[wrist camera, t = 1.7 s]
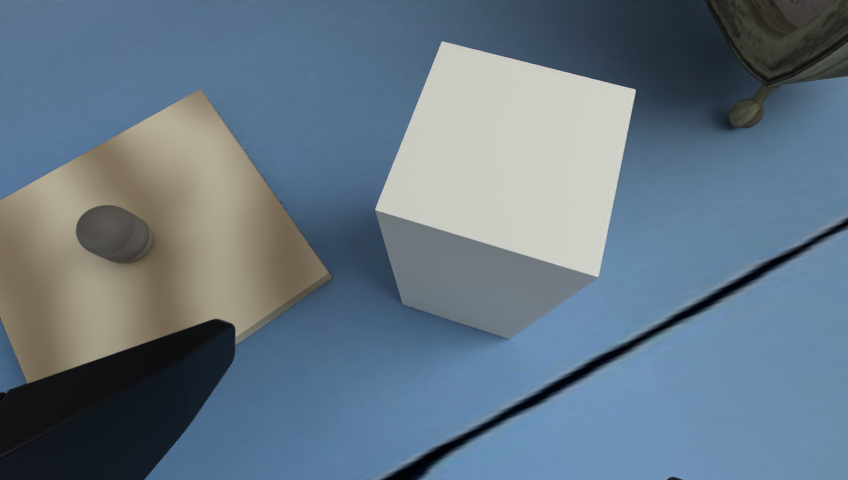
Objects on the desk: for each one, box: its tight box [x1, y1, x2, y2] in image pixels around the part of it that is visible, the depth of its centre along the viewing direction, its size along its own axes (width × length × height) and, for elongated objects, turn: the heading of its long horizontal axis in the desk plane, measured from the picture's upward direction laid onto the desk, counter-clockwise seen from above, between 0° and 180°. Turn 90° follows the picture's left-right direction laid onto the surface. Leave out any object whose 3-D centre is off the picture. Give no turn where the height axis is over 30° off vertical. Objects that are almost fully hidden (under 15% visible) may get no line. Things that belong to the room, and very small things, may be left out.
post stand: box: [0, 89, 332, 383], centre depth 21 cm, size 14×14×4 cm
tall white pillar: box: [375, 41, 636, 339], centre depth 17 cm, size 6×6×12 cm
